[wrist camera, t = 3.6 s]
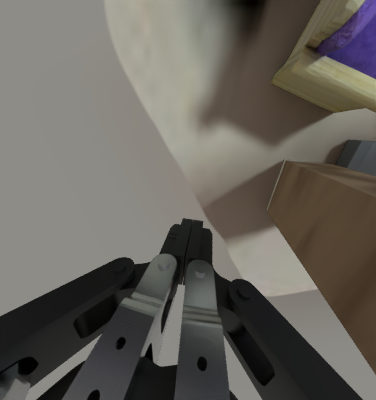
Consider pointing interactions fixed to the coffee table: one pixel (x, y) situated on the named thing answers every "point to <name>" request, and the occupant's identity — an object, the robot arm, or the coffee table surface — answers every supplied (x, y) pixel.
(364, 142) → the mat
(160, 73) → the coffee table surface
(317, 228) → the walnut block
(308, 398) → the robot arm
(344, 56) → the toy sofa
